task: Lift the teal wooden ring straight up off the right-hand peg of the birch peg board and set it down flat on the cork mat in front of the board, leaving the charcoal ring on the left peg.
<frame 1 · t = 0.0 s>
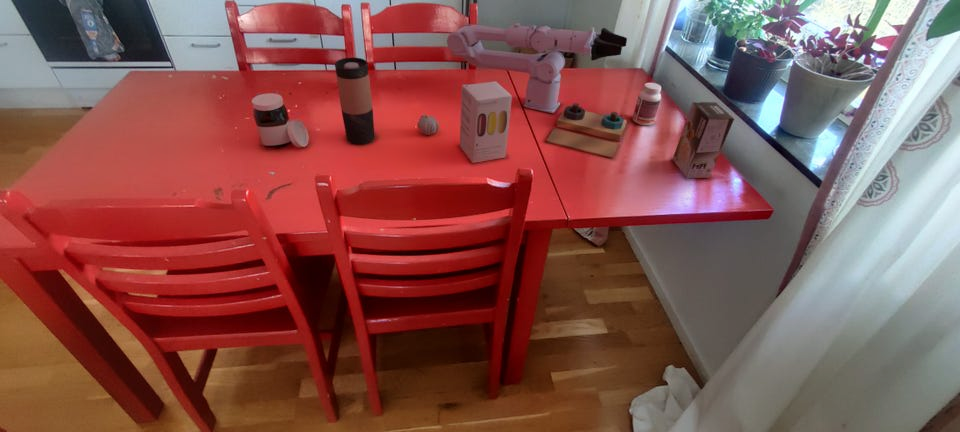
hand: (623, 46, 122), 22 cm above the table, tool horizontal, fingers open, 7 cm apart
supplement box: (482, 152, 118), on the table
cork mat: (581, 143, 124), on the table
coffee box: (689, 169, 117), on the table
pill bottle: (642, 121, 136), on the table
travel mug: (360, 138, 121), on the table
teal ring: (611, 124, 129), point 2 cm above the table, touching peg board
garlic: (428, 133, 124), on the table
charcoal ring: (573, 115, 132), point 2 cm above the table, touching peg board
peg board: (591, 126, 132), on the table
spread jar: (286, 143, 117), on the table
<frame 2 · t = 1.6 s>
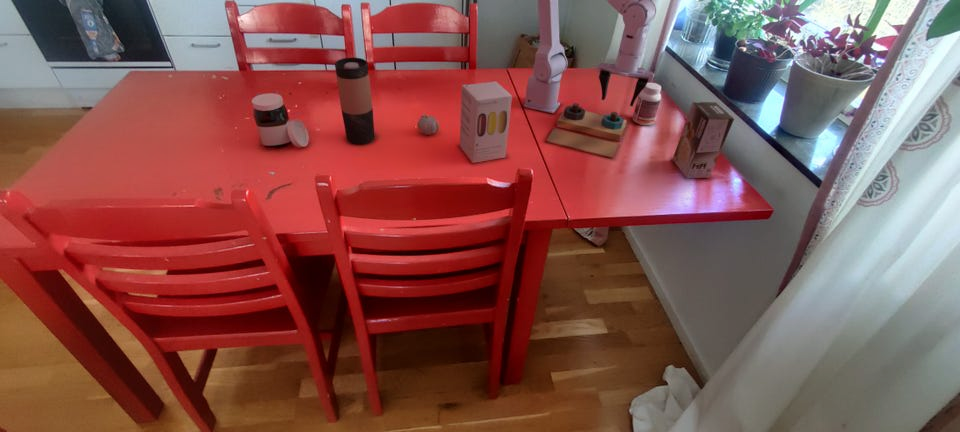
hand: (617, 101, 125), 9 cm above the table, tool pointing down, fingers open, 7 cm apart
nothing on the table moved.
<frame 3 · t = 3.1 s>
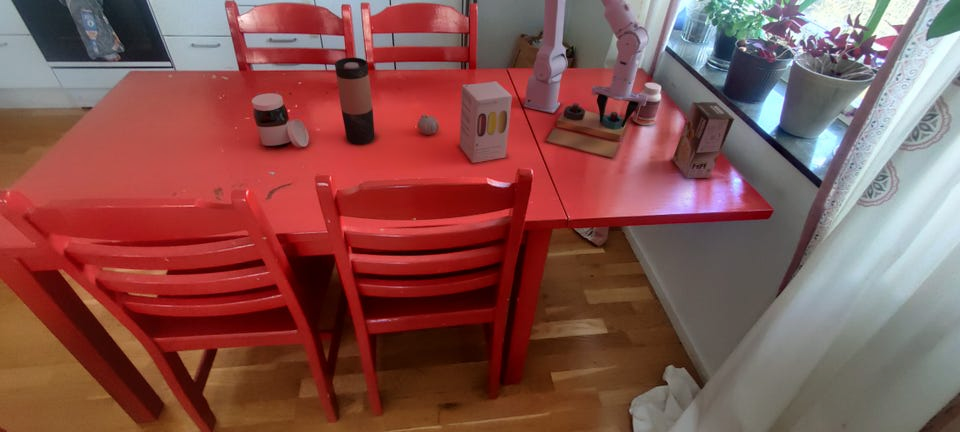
hand: (612, 123, 129), 2 cm above the table, tool pointing down, fingers closed on teal ring, 5 cm apart
teal ring: (611, 124, 129), point 2 cm above the table, touching gripper, peg board
everything else where it was.
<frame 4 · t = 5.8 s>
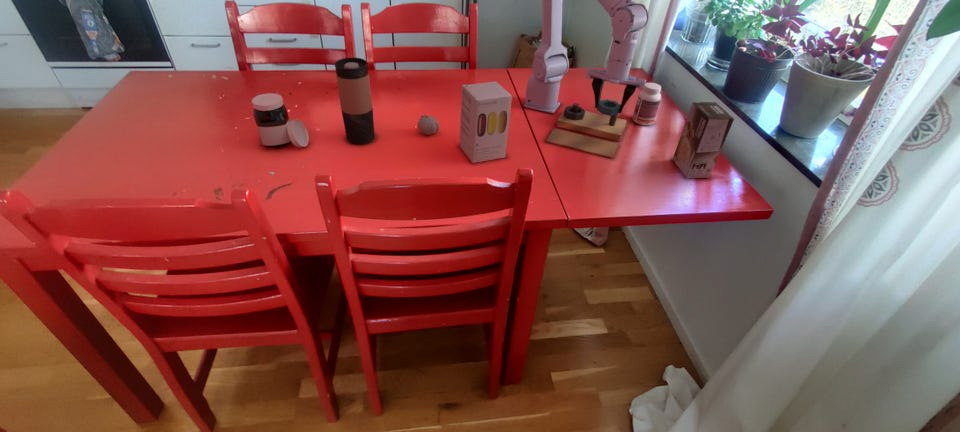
hand: (608, 109, 121), 9 cm above the table, tool pointing down, fingers closed on teal ring, 5 cm apart
teal ring: (608, 110, 121), point 9 cm above the table, touching gripper
everything else where it was.
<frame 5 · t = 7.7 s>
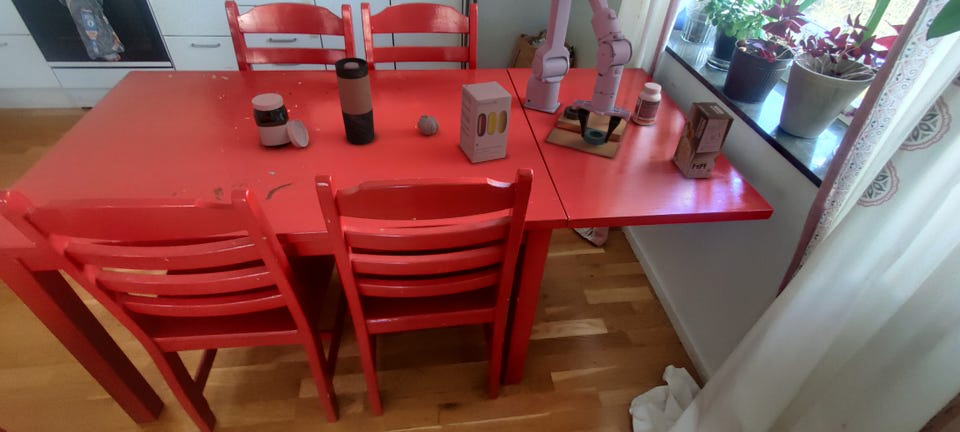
hand: (594, 138, 122), 2 cm above the table, tool pointing down, fingers closed on teal ring, 5 cm apart
teal ring: (594, 140, 122), point 2 cm above the table, touching gripper
everything else where it was.
when the fingers open (1 cm above the table, at t = 8.8 s): teal ring stays where it is, resting on cork mat.
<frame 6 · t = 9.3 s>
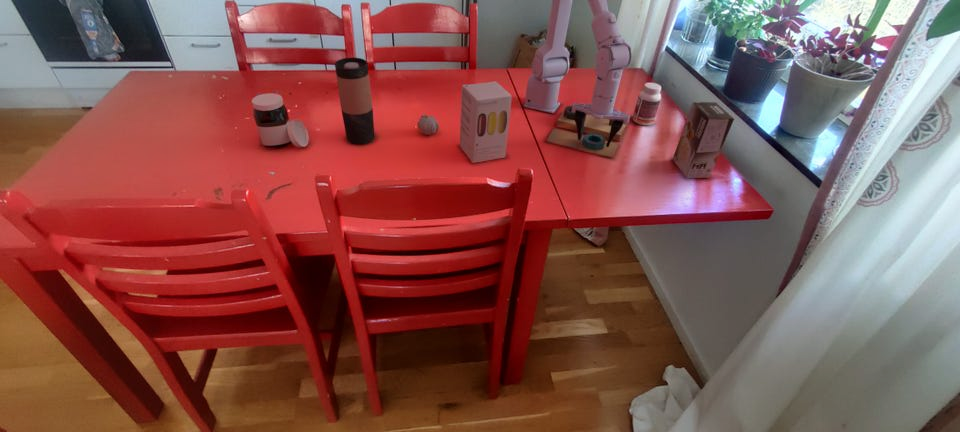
hand: (593, 141, 122), 1 cm above the table, tool pointing down, fingers open, 7 cm apart
teal ring: (593, 144, 123), resting on cork mat
everything else where it was.
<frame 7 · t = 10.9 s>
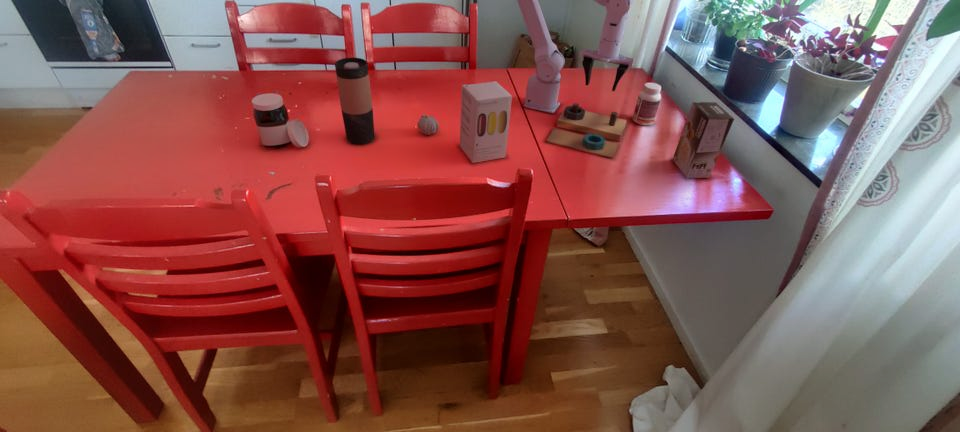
hand: (600, 87, 131), 9 cm above the table, tool pointing down, fingers open, 7 cm apart
nothing on the table moved.
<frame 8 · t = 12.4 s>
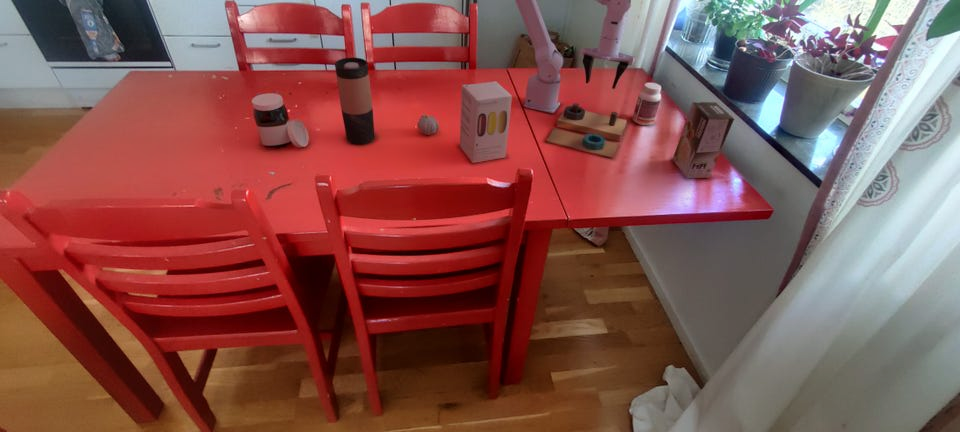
hand: (600, 84, 132), 9 cm above the table, tool pointing down, fingers open, 7 cm apart
nothing on the table moved.
at the end: teal ring inside the target area on the cork mat (3.0 cm from its centre), point 0.4 cm above the cork mat's base; teal ring tilted 0°; charcoal ring moved 0.0 cm from its start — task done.
